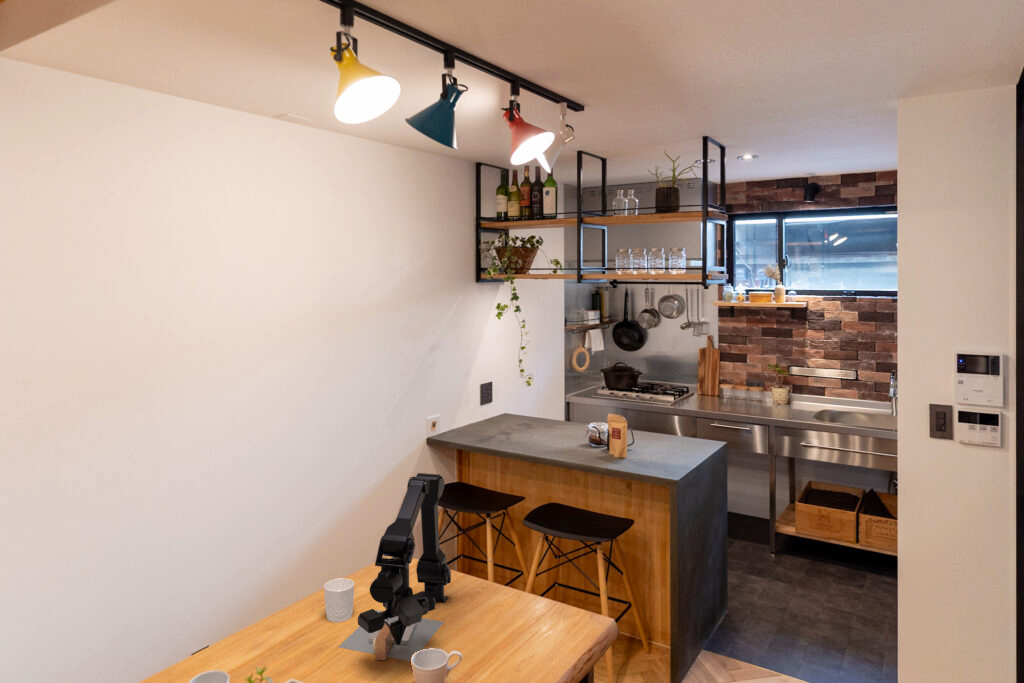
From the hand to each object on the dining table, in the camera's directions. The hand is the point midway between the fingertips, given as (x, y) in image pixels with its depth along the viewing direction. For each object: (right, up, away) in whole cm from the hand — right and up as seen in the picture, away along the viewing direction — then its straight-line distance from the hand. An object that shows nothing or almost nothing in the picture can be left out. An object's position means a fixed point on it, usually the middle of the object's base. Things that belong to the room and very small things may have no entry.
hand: (397, 644), depth 166 cm
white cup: (-19, -2, +18) cm, 26 cm away
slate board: (-3, -3, +9) cm, 10 cm away
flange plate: (-3, -2, +6) cm, 7 cm away
